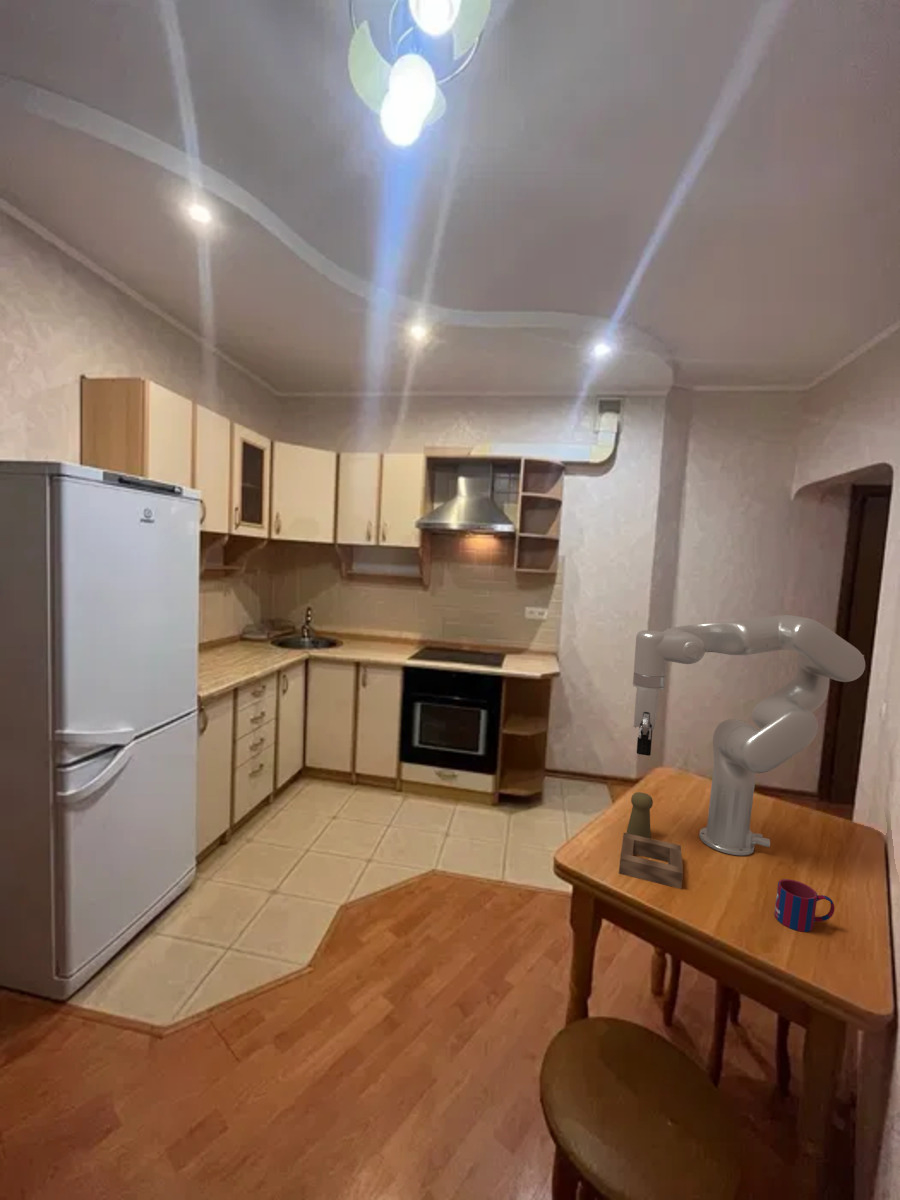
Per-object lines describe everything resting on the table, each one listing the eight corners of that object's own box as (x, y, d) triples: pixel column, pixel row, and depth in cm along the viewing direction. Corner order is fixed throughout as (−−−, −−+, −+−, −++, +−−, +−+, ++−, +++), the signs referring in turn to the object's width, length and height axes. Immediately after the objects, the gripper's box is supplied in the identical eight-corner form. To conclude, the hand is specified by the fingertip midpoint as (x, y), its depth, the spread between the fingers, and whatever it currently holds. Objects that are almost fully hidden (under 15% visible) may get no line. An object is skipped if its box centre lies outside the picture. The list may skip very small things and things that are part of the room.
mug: (771, 906, 117) (775, 875, 117) (827, 921, 114) (832, 889, 113) (777, 925, 111) (781, 893, 111) (836, 941, 108) (841, 907, 107)
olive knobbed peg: (652, 843, 140) (656, 801, 140) (627, 839, 142) (631, 797, 141) (649, 832, 146) (653, 791, 145) (624, 828, 148) (628, 788, 147)
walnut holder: (679, 859, 134) (680, 845, 133) (681, 888, 122) (682, 873, 121) (622, 846, 138) (623, 832, 138) (618, 873, 126) (620, 858, 126)
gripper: (634, 672, 149) (630, 735, 150) (631, 686, 132) (626, 757, 134) (665, 675, 146) (660, 740, 147) (665, 690, 130) (659, 762, 131)
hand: (644, 748), depth 141 cm, fingers open, 9 cm apart
